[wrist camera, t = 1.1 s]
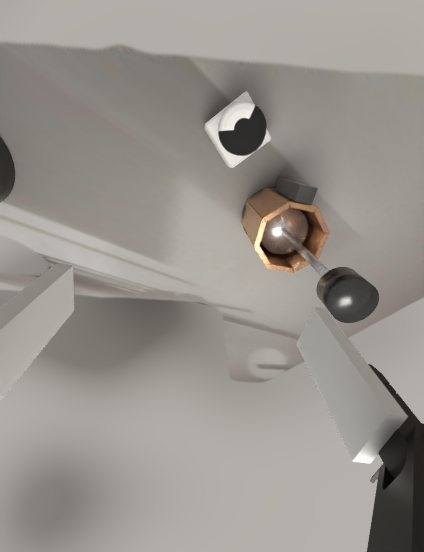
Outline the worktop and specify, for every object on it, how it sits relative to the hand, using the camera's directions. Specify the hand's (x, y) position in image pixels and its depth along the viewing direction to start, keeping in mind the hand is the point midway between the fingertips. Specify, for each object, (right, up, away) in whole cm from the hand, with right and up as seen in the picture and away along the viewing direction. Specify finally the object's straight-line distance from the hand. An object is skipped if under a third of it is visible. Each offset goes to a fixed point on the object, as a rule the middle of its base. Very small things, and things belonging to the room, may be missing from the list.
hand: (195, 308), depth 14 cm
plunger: (+12, +9, +27) cm, 31 cm away
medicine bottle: (+4, +26, +29) cm, 39 cm away
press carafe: (+12, +14, +35) cm, 39 cm away
